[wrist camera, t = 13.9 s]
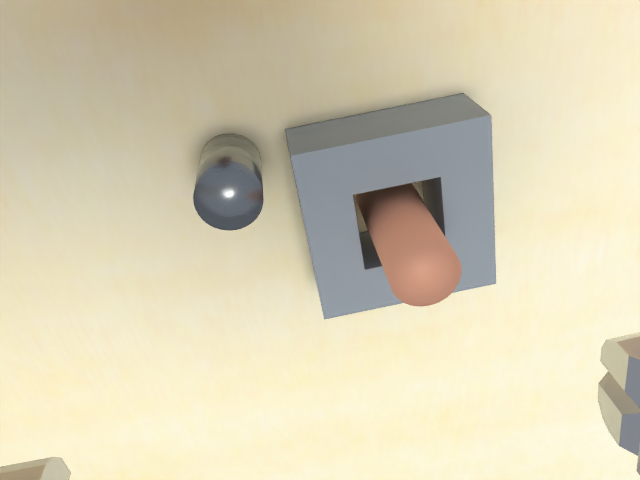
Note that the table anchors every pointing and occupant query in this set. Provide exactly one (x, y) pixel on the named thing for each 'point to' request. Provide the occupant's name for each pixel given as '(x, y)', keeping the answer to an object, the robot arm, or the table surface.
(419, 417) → the table surface
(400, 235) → the long pin
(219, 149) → the short pin
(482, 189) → the bore block
